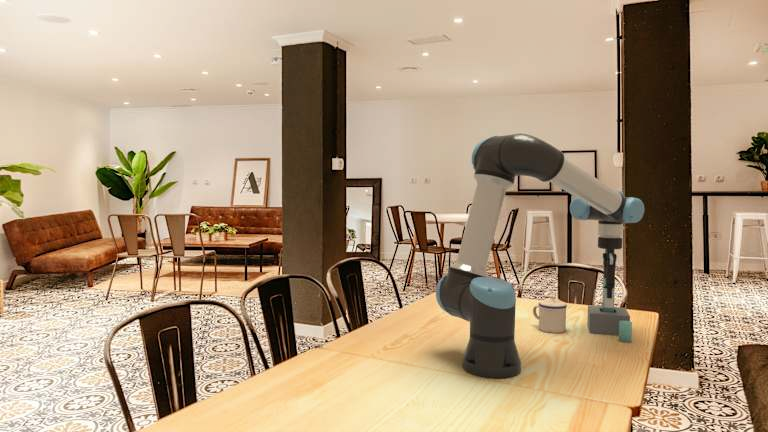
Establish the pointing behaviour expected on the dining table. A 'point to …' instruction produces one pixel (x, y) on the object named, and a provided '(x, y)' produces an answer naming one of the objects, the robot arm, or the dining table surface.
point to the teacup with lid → (551, 315)
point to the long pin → (604, 297)
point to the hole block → (606, 320)
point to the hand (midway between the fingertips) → (608, 305)
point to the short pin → (625, 331)
